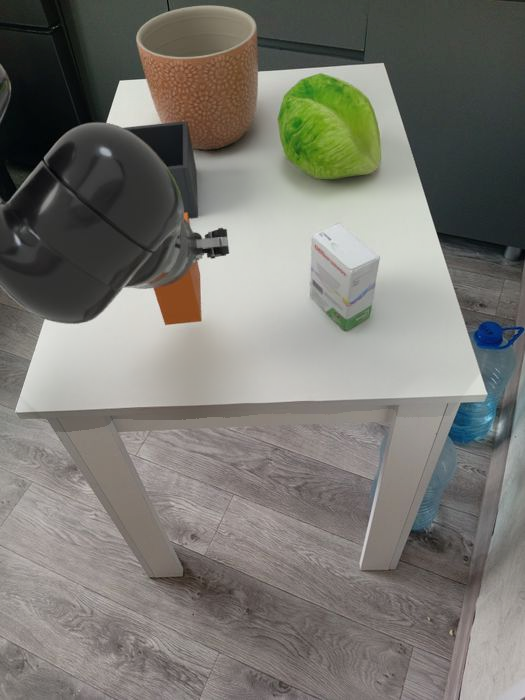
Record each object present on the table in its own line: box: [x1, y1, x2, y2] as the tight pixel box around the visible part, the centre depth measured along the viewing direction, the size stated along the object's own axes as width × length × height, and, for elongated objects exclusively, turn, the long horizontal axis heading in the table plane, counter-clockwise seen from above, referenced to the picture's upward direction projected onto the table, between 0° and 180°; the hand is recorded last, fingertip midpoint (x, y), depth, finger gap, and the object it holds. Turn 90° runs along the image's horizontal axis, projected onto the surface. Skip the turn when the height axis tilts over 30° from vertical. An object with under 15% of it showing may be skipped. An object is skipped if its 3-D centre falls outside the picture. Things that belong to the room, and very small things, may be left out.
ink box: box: [309, 222, 381, 332], centre depth 69 cm, size 8×5×12 cm, turn 33°
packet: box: [153, 212, 202, 326], centre depth 60 cm, size 4×8×10 cm, turn 5°
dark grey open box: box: [123, 121, 199, 219], centre depth 88 cm, size 14×14×10 cm
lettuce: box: [277, 72, 382, 180], centre depth 88 cm, size 17×20×16 cm
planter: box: [135, 5, 259, 150], centre depth 95 cm, size 21×21×19 cm
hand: (174, 252), depth 60 cm, fingers closed on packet, 4 cm apart
